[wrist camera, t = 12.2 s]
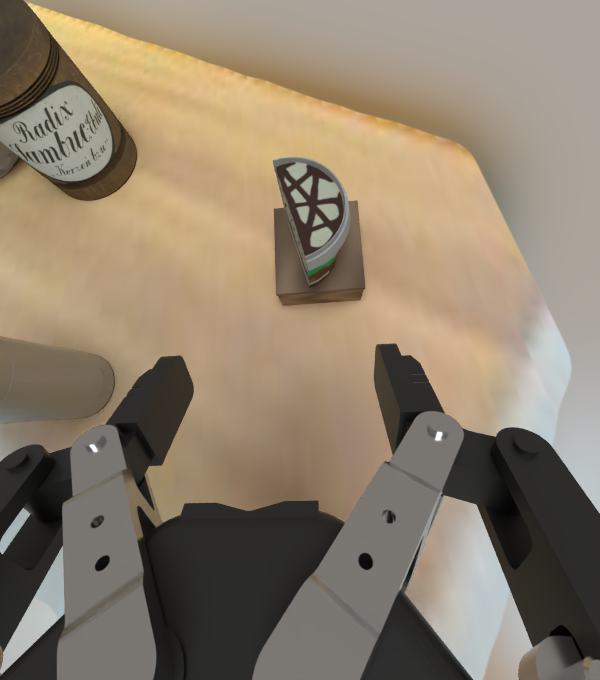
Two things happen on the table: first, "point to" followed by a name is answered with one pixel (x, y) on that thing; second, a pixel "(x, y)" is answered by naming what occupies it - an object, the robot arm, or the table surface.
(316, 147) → the table surface
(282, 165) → the food container
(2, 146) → the ceramic pitcher
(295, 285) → the walnut block
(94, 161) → the wooden container
